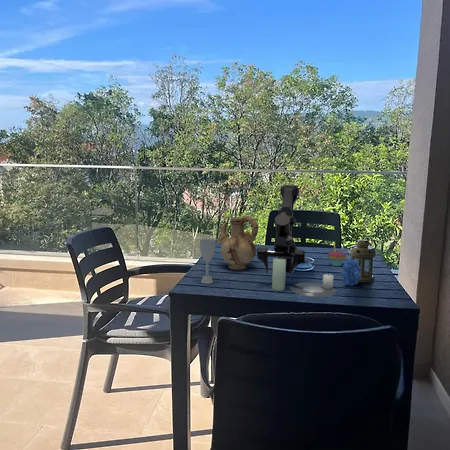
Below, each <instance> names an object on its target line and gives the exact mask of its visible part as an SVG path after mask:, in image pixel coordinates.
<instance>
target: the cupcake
mask: <svg viewBox="0 0 450 450" xmlns="http://www.w3.org/2000/svg"><path fill="white" fill-rule="evenodd" d="M332 243H333V250H331V251H329V252H328V254H327V258H329V261H330V265H331V266H332V265H333V267H342V266H343V262H344V260H346V259H347V254H346V253H345V252H343V251H341V250H336V241H334V240H333V242H332Z"/></svg>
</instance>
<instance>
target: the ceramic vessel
mask: <svg viewBox="0 0 450 450" xmlns="http://www.w3.org/2000/svg"><path fill="white" fill-rule="evenodd" d="M246 222H248V223H249V224H250V225H251V232H250V231H245V229H244V226H245V223H246ZM227 224H228V223H227V221H226V222H224V223H223V224H220V226H219V229H220V233H219V236H218V237H217V238H216V241H215V242H217V243H220V245H221V247H220V255H221V257H222V258H223V260H224V262H225V263H228V264H227V265H228V268H229V269H230V270H236V271H242V270H245V269H247V264H249V263H251V261H253V260H254V259H255V257H256V255H257V246H256V244H255V243H254V242H255V240H256V238H257V236H258V234H259V225H258V222H257V221H256V219H255V218H253V217H252V216H250V215H244V216H240V217H239V216H238V217H237V216H233V217H230V224H231V226H230V227H231V228H230V236H229V237H228V233H227Z"/></svg>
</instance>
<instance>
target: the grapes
mask: <svg viewBox="0 0 450 450" xmlns="http://www.w3.org/2000/svg"><path fill="white" fill-rule="evenodd" d="M342 269H343V270H342V271H341V272H340V274H341V277H342V283H343V284H344V285H346V286H349V287H352V286H354V285H359V282H358V281H359V280H360V279H362V276H361V271H362V268H361V266H360V265H359V262H358V260H356V259H354V260H353V259H351V258H349V259H347V261H346V263H343V264H342Z"/></svg>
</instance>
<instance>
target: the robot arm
mask: <svg viewBox="0 0 450 450" xmlns="http://www.w3.org/2000/svg"><path fill="white" fill-rule="evenodd" d="M279 193H280V196H281V199H282V200H281V201H282V203H281V208H280V209H279V210H278V211H277V216H275V218H274V221H273V223H274V225H275V230H276V231H275V232H276V233H275V236H274V242H273V251H272V250H269V249H268V247H264V246H259V247H257V248H256V255H257V260H259V261H260V262H263V264H264V266H265V267H264V268H265V272H266V274H268V272H269V259H268V258H269V257H274V258H277V257H280V258H285V259H286V272H290V273H289V274H290V276H292V274H293V273H294V272H295V269H296V268H297V267H298V265H301V264H304V263H305V262H306V261H305V259H306V251H305V250H304V249H298V247H297V245H296V244H295V240H294V238H293V236H292V235H293V234H292V233H293V232H292V231H293V226H295V224H296V219H295V217H294V205H295V204H296V202H297V200H298V196H300V187H298V185H295V184H294V185H293V184H292V185H291V184H290V185H289V184H288V185H287V184H283V186H280V192H279Z"/></svg>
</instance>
